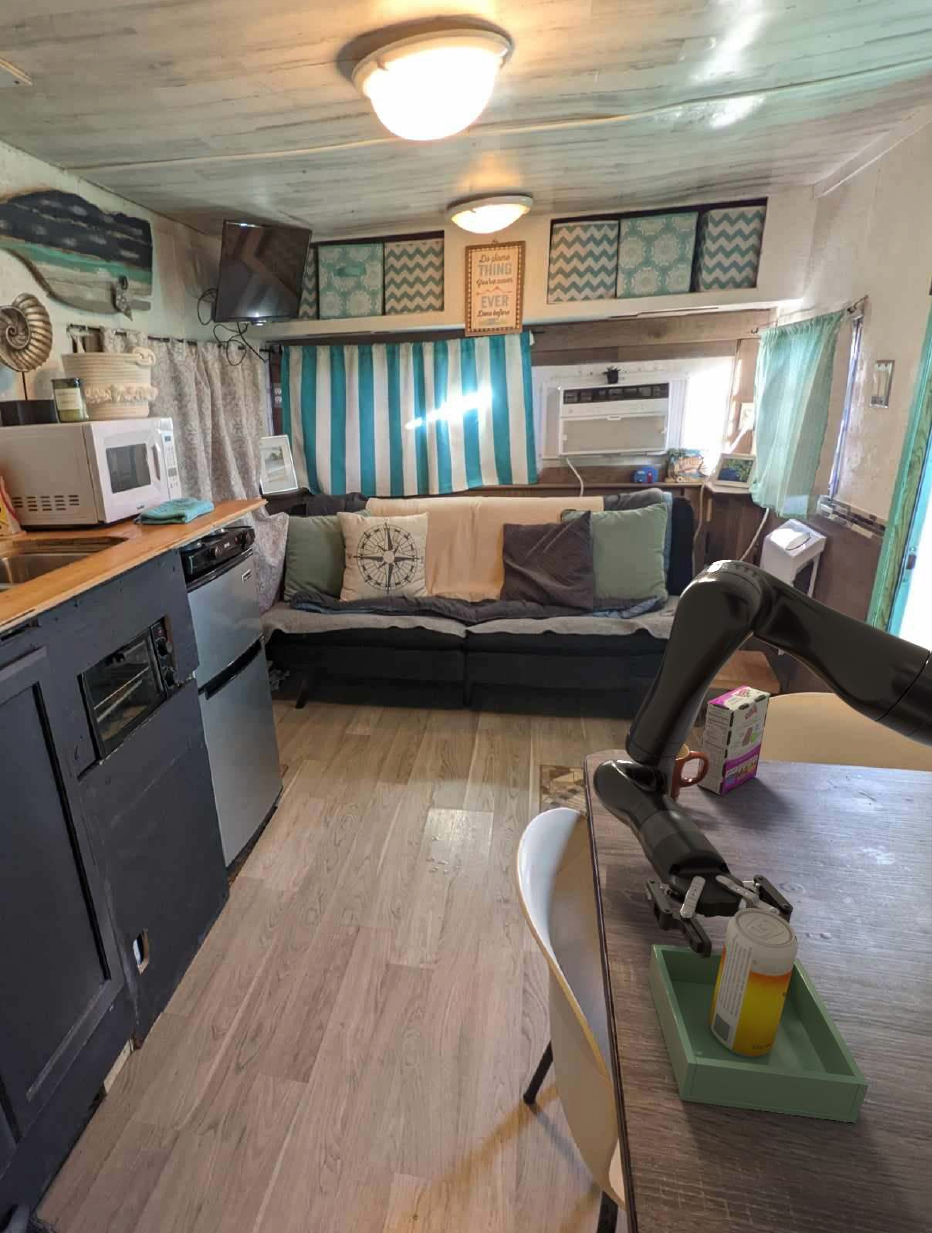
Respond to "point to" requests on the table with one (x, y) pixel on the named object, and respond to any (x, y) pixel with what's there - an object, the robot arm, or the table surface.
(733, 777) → the candy bar box
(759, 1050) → the beer can
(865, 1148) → the table surface
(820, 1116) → the green serving tray
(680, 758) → the mug
